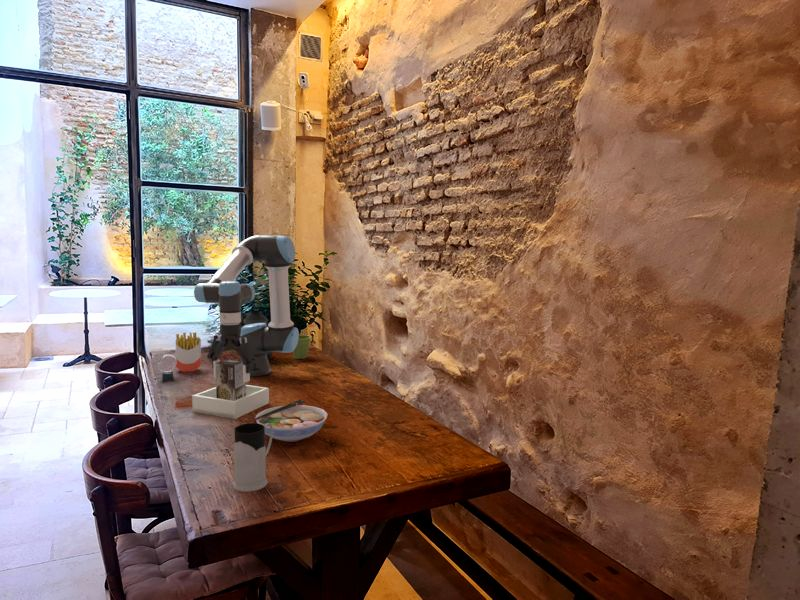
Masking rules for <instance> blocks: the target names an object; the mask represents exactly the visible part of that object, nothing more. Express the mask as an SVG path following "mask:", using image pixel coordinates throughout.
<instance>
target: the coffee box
mask: <svg viewBox="0 0 800 600" xmlns="http://www.w3.org/2000/svg"><path fill="white" fill-rule="evenodd" d="M243 365H245V363H244V362H243V361H240V360H235V359H224V360H220V362H218V363H215V366H216V378H215V385H216V386H215V387H216V395H217V398H219V399H225V400H231V401H235V400H238V399H240V398H243V397H245V396H246V385H247V382H243Z"/></svg>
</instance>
